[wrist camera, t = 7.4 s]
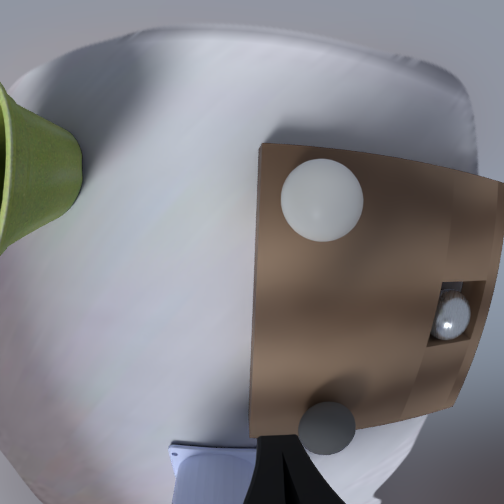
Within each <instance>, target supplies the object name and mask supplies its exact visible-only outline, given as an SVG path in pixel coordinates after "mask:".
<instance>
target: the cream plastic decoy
mask: <svg viewBox="0 0 504 504" xmlns="http://www.w3.org/2000/svg"><path fill="white" fill-rule="evenodd" d="M281 207H282V211H283V214H284V217H285V219H286V220H287V222H288V224H289V225H290V226H291V228H292V229H293V230H294V231H295V232H297V233H298V234H299V235H301V236H303V237H305V238H307V239H310V240H313V241H319V242H328V241H333V240H336V239H339V238H341V237H343V236H344V235H346V234H347V233H349V232H350V231H351V230H352V229H353V228H354V227H355V225H356V224H357V222H358V220H359V218H360V216H361V213H362V209H363V193H362V189H361V186H360V184H359V182H358V180H357V178H356V177H355V175H354V174H353V173H352V172H351V171H350V170H349V169H348V168H347V167H345V166H344V165H342V164H340V163H338V162H336V161H333V160H329V159H313V160H309V161H307V162H304V163H302V164H301V165H299V166H298V167H296V168H295V169H294V170H293V171H292V172H291V173H290V174H289V175H288V177H287V178H286V180H285V182H284V185H283V188H282V192H281Z"/></svg>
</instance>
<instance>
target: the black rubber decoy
mask: <svg viewBox="0 0 504 504" xmlns="http://www.w3.org/2000/svg"><path fill="white" fill-rule="evenodd" d="M355 430H356V423H355V419H354V416H353V414H352V413H351V411H350V410H349V409H348V408H347V407H345V406H344V405H342V404H340V403H337V402H321V403H318V404H316V405H314V406H312V407H311V408H309V409H308V410H307V411H306V412H305V413H304V414H303V416H302V418H301V420H300V422H299V426H298V435H299V438H300V441H301V443H302V444H303V446H304V447H305V448H306V449H308V450H309V451H311V452H313V453H315V454H319V455H331V454H335V453H337V452H339V451H341V450H343V449H344V448H345V447H346V446H348V444H349V443H350V442H351V440H352V439H353V437H354V434H355Z"/></svg>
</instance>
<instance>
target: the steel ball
mask: <svg viewBox="0 0 504 504" xmlns="http://www.w3.org/2000/svg"><path fill="white" fill-rule="evenodd" d="M470 315H471V310H470V305H469V302H468V300H467V299H466V297H465V296H464V295H463V294H462V293H460V292H459V291H457V290H453V289H445V290H441V291H440V295H439V300H438V304H437V308H436V313H435V317H434V321H433V324H432V328H431V332H430V333H431V334H432V335H433V336H434V337H436V338H438V339H441V340H451V339H454V338H456V337H458V336H459V335H461V334H462V333H463V332H464V331H465V329H466V328H467V326H468V324H469V321H470Z"/></svg>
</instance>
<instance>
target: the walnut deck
mask: <svg viewBox="0 0 504 504" xmlns="http://www.w3.org/2000/svg"><path fill="white" fill-rule="evenodd" d="M313 159H329V160H333V161H336V162H338V163H340V164H342V165H344V166H345V167H347V168H348V169H349V170H350V171H351V172H352V173H353V174H354V175H355V177H356V178H357V180H358V182H359V184H360V186H361V189H362V193H363V209H362V213H361V216H360V218H359V220H358V222H357V224H356V225H355V227H354V228H353V229H352V230H351V231H350V232H349V233H347V234H346V235H344V236H343V237H341V238H339V239H336V240H333V241H328V242H319V241H313V240H310V239H307V238H305V237H303V236H301V235H299V234H298V233H297V232H295V231H294V230H293V229H292V228H291V226H290V225H289V224H288V222H287V220H286V219H285V217H284V214H283V211H282V207H281V192H282V188H283V185H284V182H285V180H286V178H287V177H288V175H289V174H290V173H291V172H292V171H293V170H294V169H295V168H296V167H298V166H299V165H301V164H302V163H304V162H307V161H309V160H313ZM503 237H504V183H502V182H499V181H496V180H492V179H489V178H485V177H481V176H478V175H474V174H470V173H467V172H463V171H459V170H454V169H450V168H446V167H441V166H437V165H432V164H428V163H423V162H418V161H413V160H407V159H402V158H396V157H390V156H384V155H378V154H371V153H364V152H357V151H350V150H341V149H333V148H323V147H313V146H302V145H289V144H274V143H262V144H261V146H260V148H259V156H258V184H257V212H256V238H255V265H254V290H253V316H252V341H251V366H250V390H249V414H248V415H249V437H250V438H258V437H259V436H267V435H290V434H296V435H297V436H299V435H298V426H299V422H300V420H301V418H302V416H303V414H304V413H305V412H306V411H307V410H308V409H309V408H311V407H312V406H314V405H316V404H318V403H321V402H337V403H340V404H342V405H344V406H345V407H347V408H348V409H349V410H350V411H351V413H352V414H353V416H354V419H355V423H356V430H357V429H363V428H369V427H374V426H380V425H385V424H389V423H394V422H398V421H403V420H407V419H411V418H415V417H419V416H422V415H426V414H430V413H433V412H437V411H440V410H443V409H446V408H450V407H453V405H454V403H455V401H456V399H457V397H458V394H459V392H460V390H461V388H462V385H463V383H464V381H465V378H466V376H467V373H468V371H469V368H470V366H471V363H472V361H473V358H474V355H475V353H476V350H477V347H478V344H479V341H480V338H481V335H482V332H483V329H484V325H485V322H486V319H487V315H488V311H489V308H490V304H491V300H492V296H493V292H494V288H495V283H496V278H497V274H498V269H499V263H500V257H501V251H502V245H503ZM458 281H463V286H462V290H461V293H462V294H463V295H464V296H465V297H466V299H467V300H468V302H469V305H470V310H471V315H470V321H469V324H468V326H467V328H466V329H465V331H464V332H463V333H462V334H461V335H459V336H458V337H456V338H454V339H451V340H441V339H438V338H436V337H434V336H433V335H432V334H431V333H430V332H431V328H432V324H433V321H434V317H435V313H436V308H437V304H438V300H439V295H440V290H441V286H442V282H458Z"/></svg>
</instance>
